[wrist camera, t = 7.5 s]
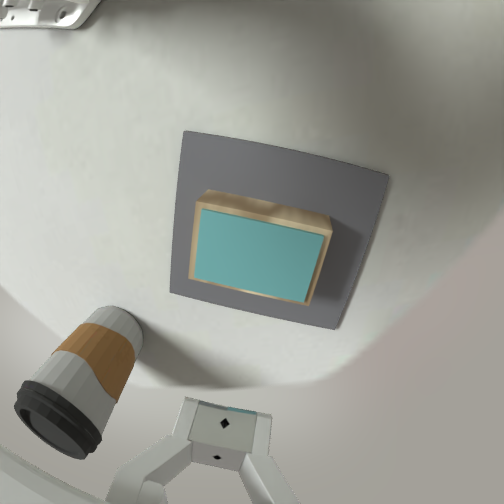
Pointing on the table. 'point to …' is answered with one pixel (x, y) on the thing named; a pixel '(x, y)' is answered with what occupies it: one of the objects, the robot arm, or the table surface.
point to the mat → (286, 193)
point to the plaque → (258, 246)
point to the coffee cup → (81, 383)
